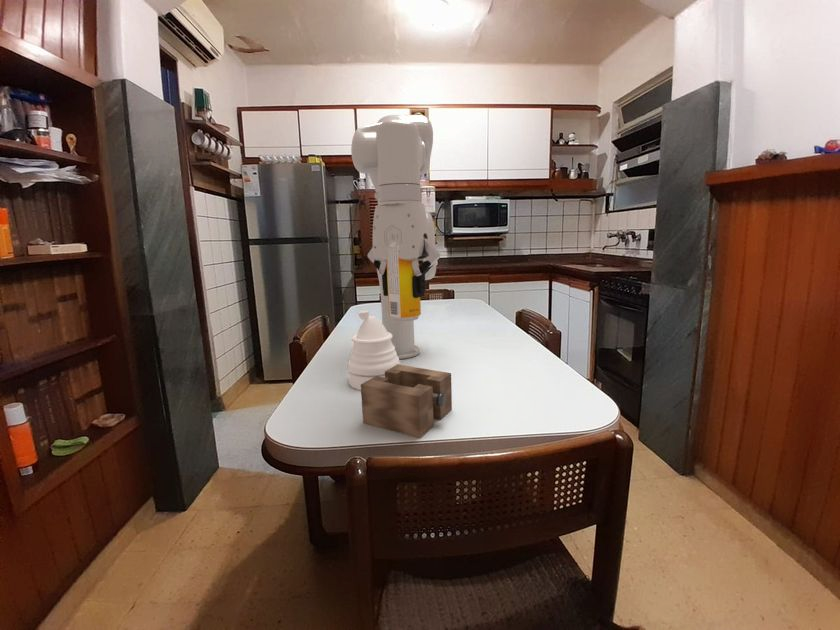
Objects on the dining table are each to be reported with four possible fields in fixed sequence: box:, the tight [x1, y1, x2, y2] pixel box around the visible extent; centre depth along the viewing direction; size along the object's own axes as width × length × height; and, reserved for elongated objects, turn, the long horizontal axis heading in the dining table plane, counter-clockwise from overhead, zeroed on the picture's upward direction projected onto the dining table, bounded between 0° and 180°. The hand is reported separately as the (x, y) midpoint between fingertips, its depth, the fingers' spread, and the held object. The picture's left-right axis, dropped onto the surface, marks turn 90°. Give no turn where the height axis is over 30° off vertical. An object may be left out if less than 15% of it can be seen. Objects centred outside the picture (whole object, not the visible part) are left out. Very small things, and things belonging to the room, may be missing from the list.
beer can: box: [386, 242, 422, 321], centre depth 75 cm, size 6×6×15 cm
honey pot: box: [347, 310, 401, 391], centre depth 99 cm, size 13×13×18 cm
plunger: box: [433, 392, 446, 407], centre depth 77 cm, size 5×3×3 cm, turn 60°
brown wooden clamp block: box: [360, 363, 453, 439], centre depth 80 cm, size 13×13×8 cm
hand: (403, 294), depth 76 cm, fingers closed on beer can, 5 cm apart
